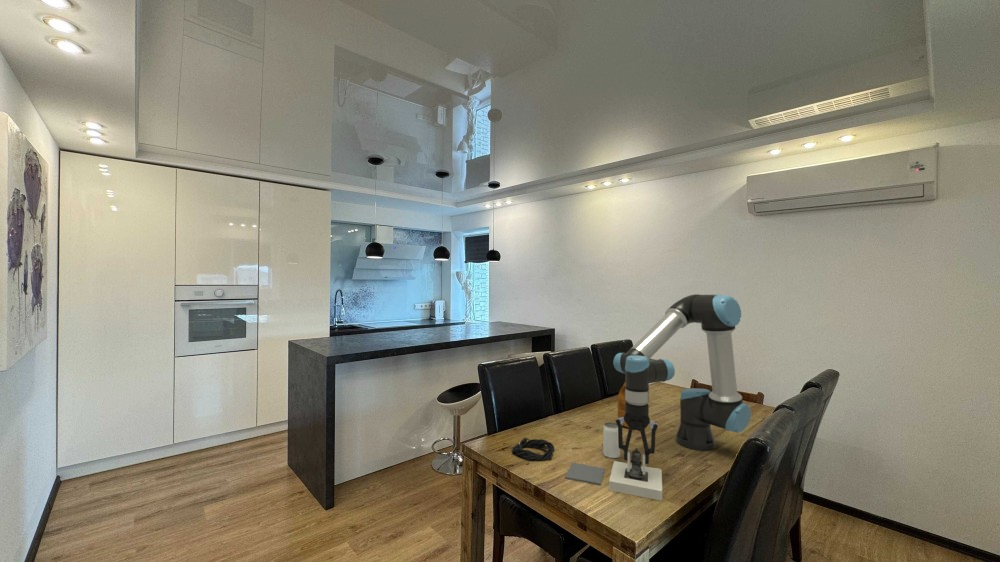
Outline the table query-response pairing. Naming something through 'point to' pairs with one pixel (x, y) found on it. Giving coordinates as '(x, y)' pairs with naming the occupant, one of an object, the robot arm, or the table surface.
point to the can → (611, 440)
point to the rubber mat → (585, 473)
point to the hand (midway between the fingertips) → (636, 471)
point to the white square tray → (636, 482)
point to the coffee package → (622, 404)
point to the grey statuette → (636, 467)
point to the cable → (537, 445)
